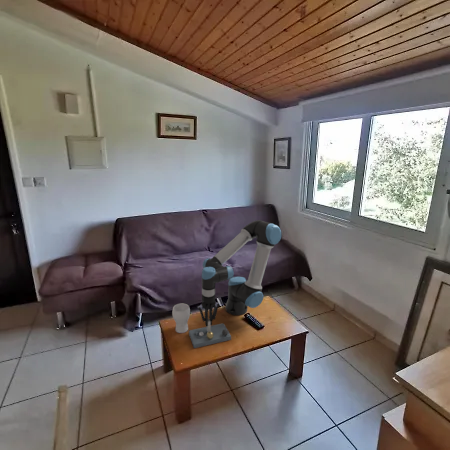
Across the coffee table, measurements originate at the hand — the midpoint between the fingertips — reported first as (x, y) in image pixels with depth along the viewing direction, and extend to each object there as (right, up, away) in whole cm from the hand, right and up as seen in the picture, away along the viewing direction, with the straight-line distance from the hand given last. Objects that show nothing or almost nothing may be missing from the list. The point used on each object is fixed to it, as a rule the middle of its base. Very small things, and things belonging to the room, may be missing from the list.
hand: (208, 330), depth 163 cm
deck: (+1, -4, 0) cm, 4 cm away
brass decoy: (+1, -1, -5) cm, 5 cm away
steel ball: (-4, -3, -1) cm, 5 cm away
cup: (-17, -2, +7) cm, 18 cm away
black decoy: (+10, -1, -2) cm, 10 cm away
